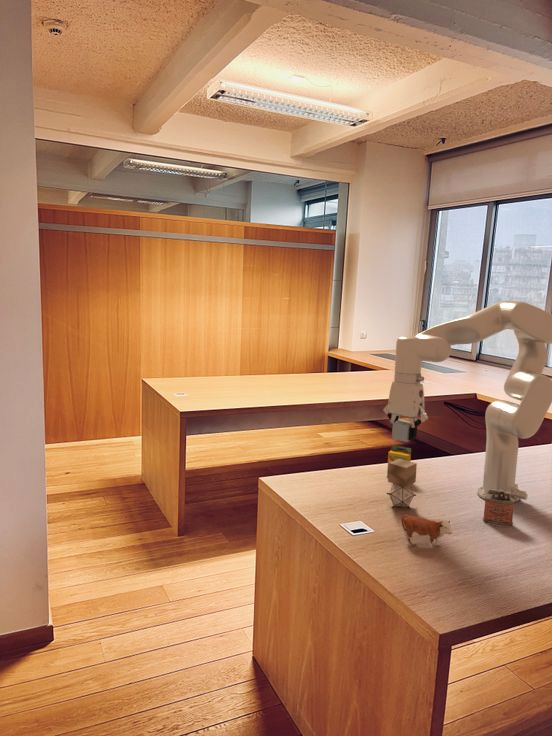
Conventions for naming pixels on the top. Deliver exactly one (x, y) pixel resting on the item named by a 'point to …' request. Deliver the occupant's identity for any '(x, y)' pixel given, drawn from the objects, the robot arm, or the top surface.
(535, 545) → the top surface
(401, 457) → the crayon box
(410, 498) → the game die
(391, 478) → the walnut block
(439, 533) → the bull figurine
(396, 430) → the slate block
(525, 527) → the top surface
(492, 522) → the lighter
